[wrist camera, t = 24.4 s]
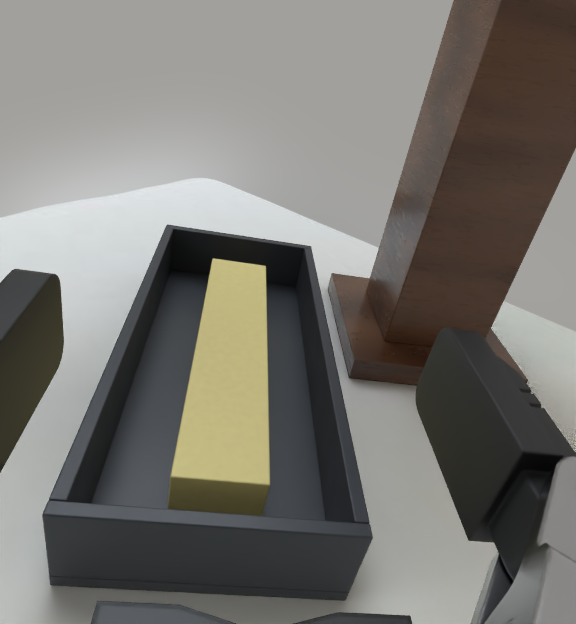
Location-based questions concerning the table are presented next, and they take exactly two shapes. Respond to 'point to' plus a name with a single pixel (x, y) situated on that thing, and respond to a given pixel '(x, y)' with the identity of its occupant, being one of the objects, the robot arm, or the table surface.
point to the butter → (226, 400)
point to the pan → (164, 434)
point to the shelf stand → (467, 187)
